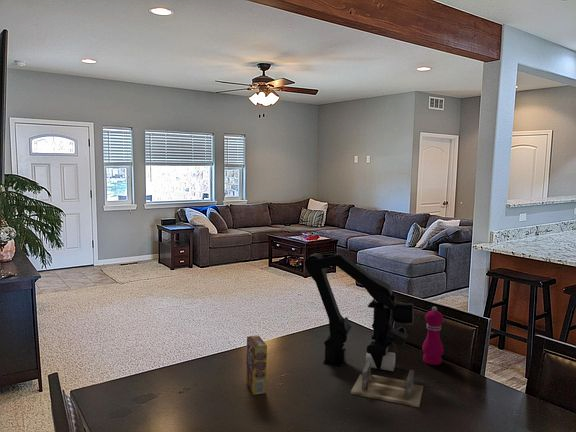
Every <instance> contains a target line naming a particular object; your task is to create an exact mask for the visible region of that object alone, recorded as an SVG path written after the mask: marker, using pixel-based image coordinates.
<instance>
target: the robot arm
mask: <svg viewBox="0 0 576 432" xmlns="http://www.w3.org/2000/svg"><path fill="white" fill-rule="evenodd" d="M304 267H305V269H306V271H307V273H308V275H309V276H310V277H311V278H312V280H314V282H315V285H316V288H317V290H318V294H319V297H320V298H321V301H322V304H323V307H324V309H325V312H326V316H327V317H328V318H327V319H328V327H329V328H328V329H329V334H328V335H327V338H325V340H324V342H323V345H324V360H323V364H326V365H333V366H336V367H337V366H338V367H342V365H343V364H344V363H345V361H346V360H347V359H346V357H347V355H346V354H347V349H346V348H345V343H346V342H347V339H348V338H349V336H350V334H351V328H352V325H351V324H350V322H349V317H348V316H346V317H343V315H342V314H341V312H340V310H339V306H338V304H337V301H336V299H335V295H334V293H333V290H332V288H331V284H330V282H329V278H328V275H327V269H329V268H333V267H337V268H339V269H340V270H341V271H342V272H343V273H345V274H347V275H348V276H349V277H350V278H351V279H353V280H355V281H356V282H357V283H358V284H359V285H361V286H362V287H363V288H364V289H365V290H366V291H367V293H368V294H369V296H371V297H372V300H371V301H370V302H369V303H368V305H367V307H368V308H372V309H373V315H372V316H373V319H372V325H371V328H372V335H371V340H373V341H370V342H369V343H368V344H367V346H366V354H367V353H369V354H371V356H372V358H373V360H374V363H375V365H376V367H377V370H381V369H380V368H381V364H382V359H383V356H386V354H387V352H389V350H388V349H389V348H388V347H389V346H391V345H392V343H394V344H396V345H398V346H399V347H401V348H402V347H404V346H405V343H406V341H407V339H408V333H407V332H406V328H405V327H404V326H400V327H398V328H397V327H396V328H395V327H393V323H392V322H391V321H392V320H393V322H395V323H396V324H405V325H414V317H415V315H414V314H415V312H414V303H412V302H410V303H408V302H407V303H405V302H398V299H397V298H396V296H395V295H394V293H393V289H392V286H391V284H389V283H387V282H386V281H383V280H382V279H379V278H377V277H374V276H372V275H371V274H369V273H367V272H366V271H365V270H364V269H362V268H361V267H360V266H358V265H357V264H355V263H354V262H353V261H351V260H350V259H349V258H348V257H346V256H345V255H344V254H343V253H341V252H337V253H325V254H324V253H323V254H321V253H319V252H315V253H312V254H311V255H310V256H308V257H306V259H305V262H304ZM391 313H392V315H391ZM391 319H392V320H391Z"/></svg>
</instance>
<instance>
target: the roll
mask: <svg viewBox="0 0 576 432" xmlns="http://www.w3.org/2000/svg"><path fill="white" fill-rule="evenodd" d="M367 362H368V363H371V369H377V367H376V365H375V363H374V360H373V358H372V356H371V354H369V353H367V352H366V354H365V365H366V364H367ZM395 367H396V353H395V352H389V351H388V352H387V354H386V356H383V359H382V364H381V368H380V369H379V370H382V371H383V370H384V371H389V372H394V370H395ZM377 370H378V369H377Z"/></svg>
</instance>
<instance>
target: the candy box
mask: <svg viewBox="0 0 576 432" xmlns="http://www.w3.org/2000/svg"><path fill="white" fill-rule="evenodd" d="M267 355H268V345H267V344H266V343H265V341H264V340H263V339H262V337H260V335H256V334H255V335H249V336H247V337H246V371H245V372H246V378H245V379H246V380H245V381H246V382H245V383H246V384H247V386H248V388H249V389H250V392H251V393H252V395H253V396H257V395H264V394H266V393H267V358H268V356H267Z"/></svg>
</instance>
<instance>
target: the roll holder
mask: <svg viewBox="0 0 576 432" xmlns="http://www.w3.org/2000/svg"><path fill="white" fill-rule="evenodd" d="M361 373H362V374H359V376H358V377H357V379H356V380H355V383H354V384H353V387H352V389H351V390H350V394H351V395H357V396H361V397H366V398H370V399H377V400H380V401H386V402H391V403H396V404H400V405H405V406H411V407H414V408H415V407H416V408H420V404H421V401H422V396H423V391H424V385H419V384H414V379H415V378H414V373H415V370H414V369H409V371H408V375H407V378H406V380H403V379H400V378H398V379H397V378H392V377H387V376H382V375H376V374H371V373H372V368H371V363H368V362H367V364H366V363H365V366H364V368H363V370H362V372H361Z"/></svg>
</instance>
